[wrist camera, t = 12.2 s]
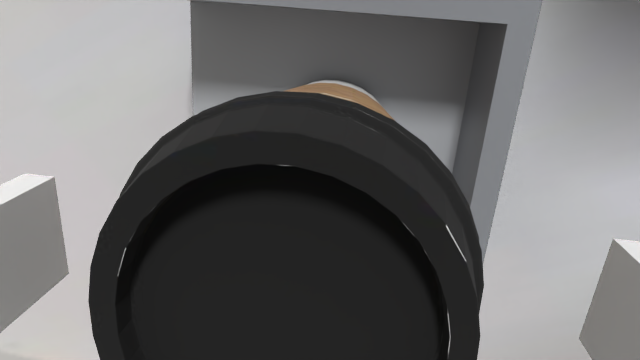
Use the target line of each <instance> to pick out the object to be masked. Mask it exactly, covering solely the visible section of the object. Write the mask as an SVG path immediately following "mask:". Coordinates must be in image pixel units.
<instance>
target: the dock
mask: <svg viewBox="0 0 640 360" xmlns="http://www.w3.org/2000/svg"><path fill="white" fill-rule="evenodd" d="M189 1H190V5H191V49H192V92H193V116H194V115H197V114H198V113H200V112H201V111H203V110H206V109H209V108H211V107H214V106H216V105H219V104H222V103H224V102H227V101H229V100H232V99H235V98H237V97H242V96H249V95H255V94H261V93H267V92H273V91H285V90H289V89H292V88H296V87H299V86H303V85H306V84H309V83H312V82H314V81H321V80H341V81H345V82H349V83H352V84H354V85H356V86H359V87H361V88H363V89H364V90H365V91H367V92H368V93H369V94H371V95H372V96H373V97H374V98H375V99H376V100H377V101H378V102H379V103H380V105H381V106H382V107H383V108H384V109H385V110H386V111H387V113H388V114H389V115H390V116H391V117H392V118H393V119H394V120H395V121H396V122H397V123H399V124H400V125H401V126H403V127H404V128H405V129H407V130H408V131H409V132H411V133H412V134H414V135H415V136H416V137H418V138H419V139H420V140H422V141H423V142H424V143H426V144H427V145H428V147H429V148H430V149H431V150H432V151H433V152H434V153H435V155H436V156H437V157H438V158H439V159H440V160H441V161H442V162H443V164H444V165H445V166H446V167H447V168H448V169H449V170H450V172H451V173H452V175H453V176H454V178H455V180H456V182H457V184H458V185H459V187H460V189H461V191H462V193H463V194H464V196H465V198H466V200H467V202H468V203H469V206H470V209H471V213H472V216H473V219H474V223H475V226H476V229H477V233H478V236H479V243H480V247H481V250H482V265H483V261H484V257H485V252H486V248H487V244H488V239H489V235H490V230H491V226H492V221H493V217H494V213H495V208H496V204H497V199H498V195H499V190H500V186H501V181H502V177H503V173H504V168H505V164H506V159H507V155H508V150H509V146H510V141H511V137H512V133H513V128H514V124H515V119H516V115H517V110H518V106H519V102H520V97H521V93H522V88H523V84H524V79H525V75H526V70H527V66H528V62H529V57H530V53H531V48H532V44H533V39H534V35H535V31H536V26H537V22H538V17H539V13H540V8H541V4H542V0H189Z"/></svg>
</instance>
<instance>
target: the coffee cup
mask: <svg viewBox="0 0 640 360" xmlns="http://www.w3.org/2000/svg"><path fill="white" fill-rule="evenodd" d="M483 288H484V281H483V265H482V250H481V247H480V243H479V236H478V233H477V229H476V226H475V223H474V219H473V216H472V213H471V209H470V206H469V203H468V202H467V200H466V198H465V196H464V194H463V193H462V191H461V189H460V187H459V185H458V184H457V182H456V180H455V178H454V176H453V175H452V173H451V172H450V170H449V169H448V168H447V167H446V166H445V165H444V164H443V162H442V161H441V160H440V159H439V158H438V157H437V156H436V155H435V153H434V152H433V151H432V150H431V149H430V148H429V147H428V145H427V144H426V143H424V142H423V141H422V140H420V139H419V138H418V137H416V136H415V135H414V134H412V133H411V132H409V131H408V130H407V129H405V128H404V127H403V126H401V125H400V124H399V123H397V122H396V121H395V120H394V119H393V118H392V117H391V116H390V115H389V114H388V113H387V111H386V110H385V109H384V108H383V107H382V106H381V105H380V103H379V102H378V101H377V100H376V99H375V98H374V97H373V96H372V95H371V94H369V93H368V92H367V91H365V90H364V89H363V88H361V87H359V86H356V85H354V84H352V83H349V82H345V81H341V80H321V81H314V82H312V83H309V84H306V85H303V86H299V87H296V88H292V89H289V90H285V91H273V92H267V93H261V94H255V95H249V96H242V97H237V98H235V99H232V100H229V101H227V102H224V103H222V104H219V105H216V106H214V107H211V108H209V109H206V110H203V111H201V112H200V113H198V114H197V115H194V116H192V117H191V118H189V119H188V120H186V121H185V122H183V123H182V124H180V125H179V126H177V127H176V128H174V129H173V130H171V131H170V132H168V133H167V134H166V135H164V136H163V137H161V138H160V139H159V141H158V142H157V143H156V144H155V145H154V146H153V147H152V148H151V149H150V150H149V151H148V152H147V153H146V155H145V156H144V157H143V158H142V159H141V160H140V161H139V162H138V163H137V165H136V167H135V168H134V170H133V172H132V174H131V176H130V177H129V179H128V181H127V183H126V184H125V186H124V188H123V190H122V192H121V193H120V197H119V199H118V200H117V201H116V203H115V205H114V207H113V209H112V211H111V213H110V214H109V216H108V218H107V220H106V222H105V224H104V226H103V228H102V229H101V231H100V233H99V237H98V241H97V245H96V248H95V252H94V256H93V259H92V263H91V269H90V286H89V308H90V316H91V323H92V331H93V337H94V340H95V344H96V347H97V350H98V354H99V357H100V360H477V355H478V348H479V341H480V327H479V310H480V305H481V299H482V293H483Z"/></svg>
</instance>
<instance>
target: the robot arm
mask: <svg viewBox="0 0 640 360" xmlns="http://www.w3.org/2000/svg"><path fill="white" fill-rule="evenodd" d="M68 274H69V272H68V265H67V259H66V252H65V245H64V238H63V232H62V225H61V218H60V211H59V205H58V198H57V191H56V184H55V178H54V177H52V176H42V175H33V174H23V175H21V176H19V177H16V178H14V179H12V180H10V181H8V182H6V183H4V184H1V185H0V333H1V332H2V331H3V330H4V329H5V328H6V327H7V326H9V325H10V324H11V323H12V322H13V321H14V320H16V319H17V318H18V317H19V316H20V315H21V314H23V313H24V312H25V311H26V310H27V309H28V308H29V307H31V306H32V305H33V304H34V303H35V302H36V301H38V300H39V299H40V298H41V297H42V296H43V295H45V294H46V293H47V292H48V291H49V290H50V289H51V288H53V287H54V286H55V285H56V284H57V283H58V282H60V281H61V280H62V279H63V278H64V277H65V276H66V275H68ZM579 339H580V341H581V342H582V344H583V346H584V347H585V349H586V350H587V352H588V353H589V355H590V357H591V358H592V360H640V241H631V240H622V239H613V241H612V244H611V247H610V249H609V252H608V255H607V258H606V261H605V264H604V267H603V270H602V273H601V276H600V279H599V281H598V284H597V287H596V290H595V293H594V296H593V299H592V302H591V305H590V308H589V311H588V313H587V316H586V319H585V322H584V325H583V328H582V331H581V334H580V337H579Z"/></svg>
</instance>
